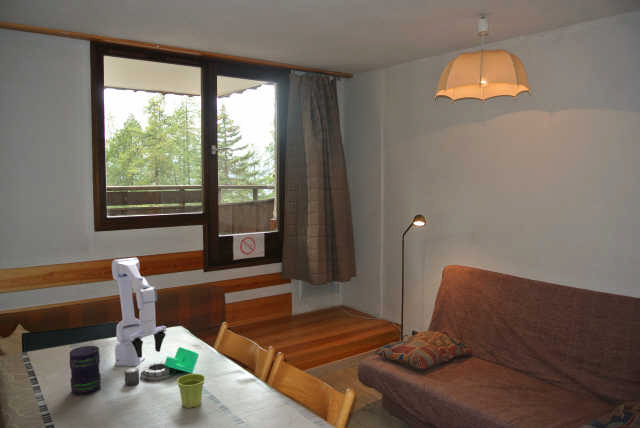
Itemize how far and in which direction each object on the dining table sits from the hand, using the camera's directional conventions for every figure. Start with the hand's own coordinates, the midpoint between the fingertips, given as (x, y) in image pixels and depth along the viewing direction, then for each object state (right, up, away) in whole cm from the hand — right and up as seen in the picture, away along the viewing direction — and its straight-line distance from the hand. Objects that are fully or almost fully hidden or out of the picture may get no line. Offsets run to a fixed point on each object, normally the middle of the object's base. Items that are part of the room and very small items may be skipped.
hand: (148, 354), depth 183 cm
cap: (-5, -10, -4) cm, 12 cm away
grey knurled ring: (+2, -9, +4) cm, 10 cm away
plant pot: (+22, -11, -21) cm, 33 cm away
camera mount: (+13, -6, +10) cm, 17 cm away
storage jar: (-20, -11, -9) cm, 24 cm away
